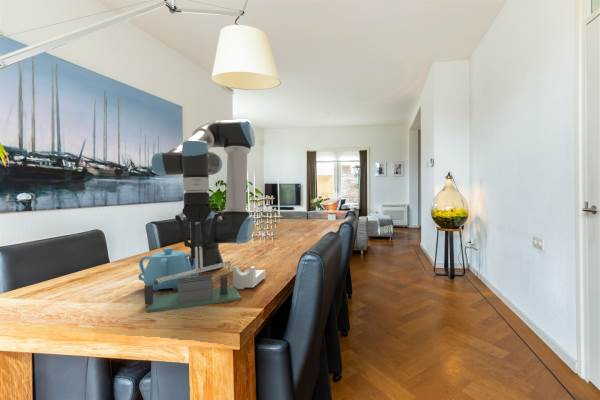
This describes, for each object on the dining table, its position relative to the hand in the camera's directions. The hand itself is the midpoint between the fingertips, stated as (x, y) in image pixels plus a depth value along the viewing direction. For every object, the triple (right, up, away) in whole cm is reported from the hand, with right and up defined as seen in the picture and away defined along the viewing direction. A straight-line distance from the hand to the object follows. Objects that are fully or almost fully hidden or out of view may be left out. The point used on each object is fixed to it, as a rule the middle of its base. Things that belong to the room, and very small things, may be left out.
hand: (199, 268), depth 100 cm
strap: (-1, -3, 0) cm, 4 cm away
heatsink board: (-1, -10, 0) cm, 10 cm away
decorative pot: (-15, -10, +14) cm, 23 cm away
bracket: (+13, -9, +16) cm, 23 cm away
